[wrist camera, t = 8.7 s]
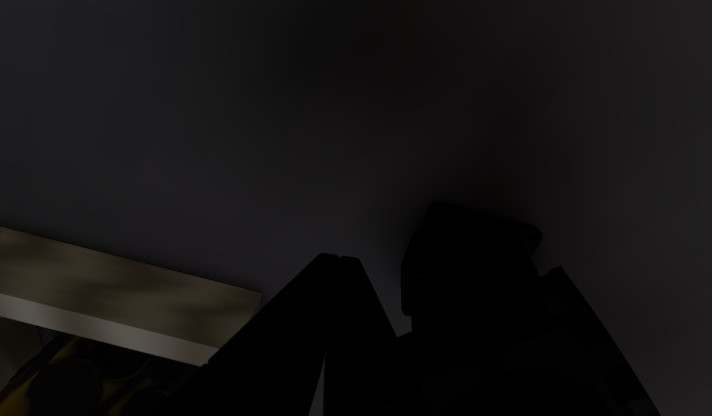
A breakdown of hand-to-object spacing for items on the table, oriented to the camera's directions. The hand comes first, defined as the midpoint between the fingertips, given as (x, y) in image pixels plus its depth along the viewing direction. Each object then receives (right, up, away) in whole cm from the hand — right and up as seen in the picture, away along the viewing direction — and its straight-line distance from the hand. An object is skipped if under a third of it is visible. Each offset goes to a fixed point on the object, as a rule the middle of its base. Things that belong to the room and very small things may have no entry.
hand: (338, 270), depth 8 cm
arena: (-18, -11, +22) cm, 30 cm away
